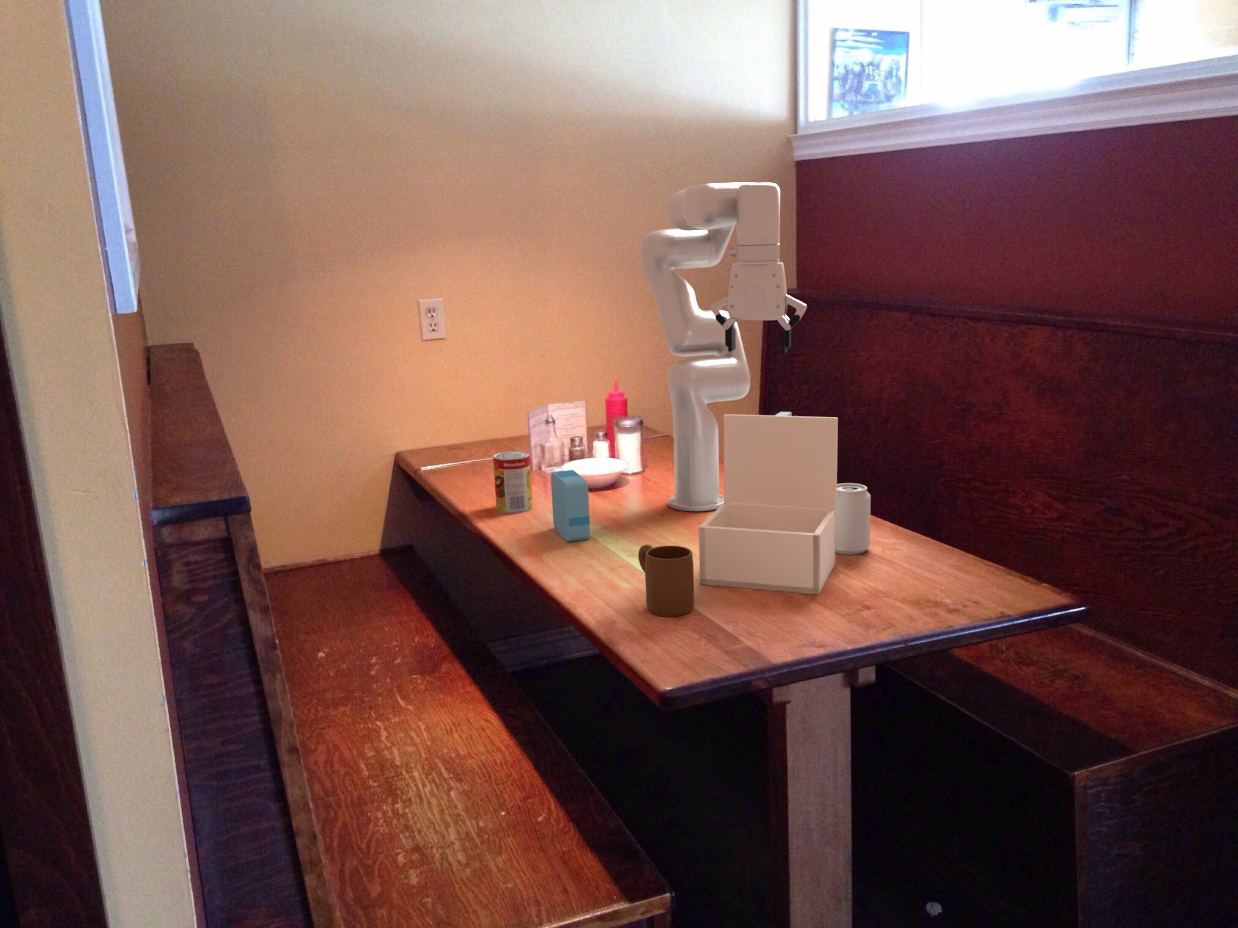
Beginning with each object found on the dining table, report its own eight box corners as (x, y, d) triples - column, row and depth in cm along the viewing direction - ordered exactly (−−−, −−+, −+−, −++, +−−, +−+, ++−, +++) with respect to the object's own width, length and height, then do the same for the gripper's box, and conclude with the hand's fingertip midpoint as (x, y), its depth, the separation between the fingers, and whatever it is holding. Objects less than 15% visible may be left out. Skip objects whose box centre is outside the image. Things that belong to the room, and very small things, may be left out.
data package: (590, 540, 203) (588, 481, 201) (568, 543, 202) (565, 483, 199) (574, 525, 214) (571, 468, 212) (553, 527, 213) (550, 470, 210)
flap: (724, 502, 189) (732, 496, 194) (835, 509, 182) (840, 502, 187) (723, 414, 186) (731, 410, 191) (837, 418, 179) (842, 413, 184)
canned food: (525, 502, 234) (522, 449, 231) (537, 509, 227) (534, 455, 224) (491, 507, 231) (488, 454, 228) (503, 515, 224) (500, 460, 221)
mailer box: (724, 555, 191) (723, 502, 189) (835, 564, 184) (835, 509, 182) (699, 584, 177) (698, 527, 174) (818, 594, 169) (819, 535, 167)
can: (871, 544, 194) (872, 482, 191) (867, 557, 187) (868, 492, 185) (831, 542, 197) (831, 480, 194) (825, 554, 190) (825, 490, 187)
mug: (622, 599, 171) (620, 544, 169) (661, 590, 175) (659, 535, 172) (664, 621, 161) (662, 562, 159) (704, 610, 165) (702, 553, 162)
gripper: (705, 256, 185) (706, 353, 189) (803, 255, 179) (802, 355, 183) (715, 254, 191) (716, 347, 196) (810, 253, 186) (809, 349, 190)
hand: (757, 351), depth 189 cm, fingers open, 9 cm apart
